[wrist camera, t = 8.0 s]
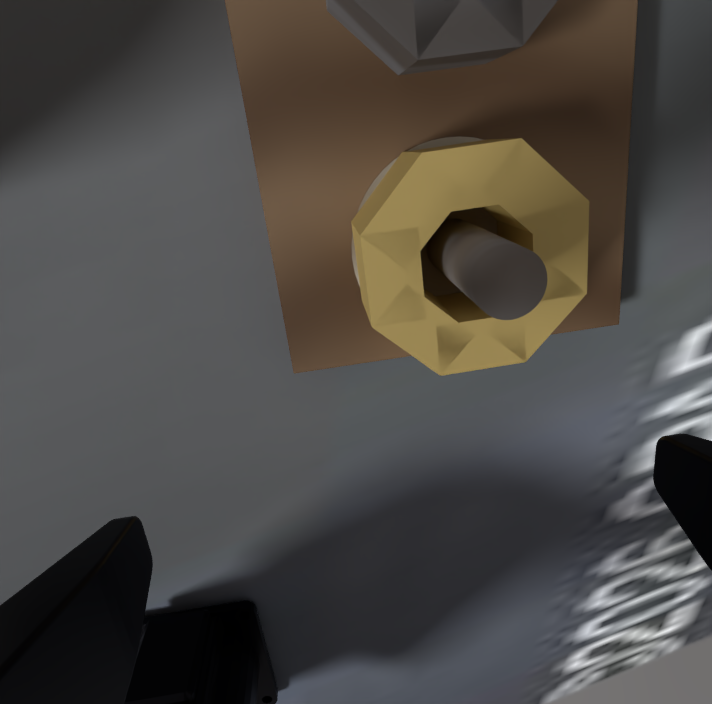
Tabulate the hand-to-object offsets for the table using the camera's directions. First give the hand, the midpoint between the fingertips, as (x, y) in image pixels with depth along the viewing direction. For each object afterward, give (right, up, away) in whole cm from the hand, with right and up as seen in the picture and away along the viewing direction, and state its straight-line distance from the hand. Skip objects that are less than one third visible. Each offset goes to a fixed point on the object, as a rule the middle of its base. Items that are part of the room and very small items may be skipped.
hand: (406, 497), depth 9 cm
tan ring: (+2, +6, +9) cm, 11 cm away
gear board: (+2, +11, +9) cm, 14 cm away
